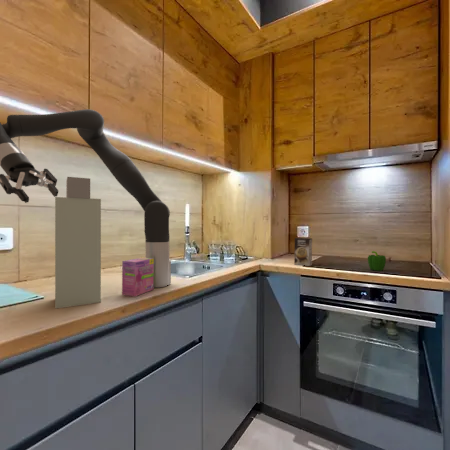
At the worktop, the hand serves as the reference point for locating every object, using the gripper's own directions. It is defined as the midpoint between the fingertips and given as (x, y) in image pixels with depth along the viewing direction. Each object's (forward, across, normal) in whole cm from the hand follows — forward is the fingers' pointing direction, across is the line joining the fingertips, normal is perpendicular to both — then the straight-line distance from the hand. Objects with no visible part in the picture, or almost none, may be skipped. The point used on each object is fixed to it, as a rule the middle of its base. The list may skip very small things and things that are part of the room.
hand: (42, 197), depth 85 cm
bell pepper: (+105, -110, +20) cm, 154 cm away
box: (+38, -14, -14) cm, 43 cm away
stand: (+29, +2, -17) cm, 34 cm away
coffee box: (+80, -109, -10) cm, 135 cm away
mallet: (+4, -9, 0) cm, 10 cm away
